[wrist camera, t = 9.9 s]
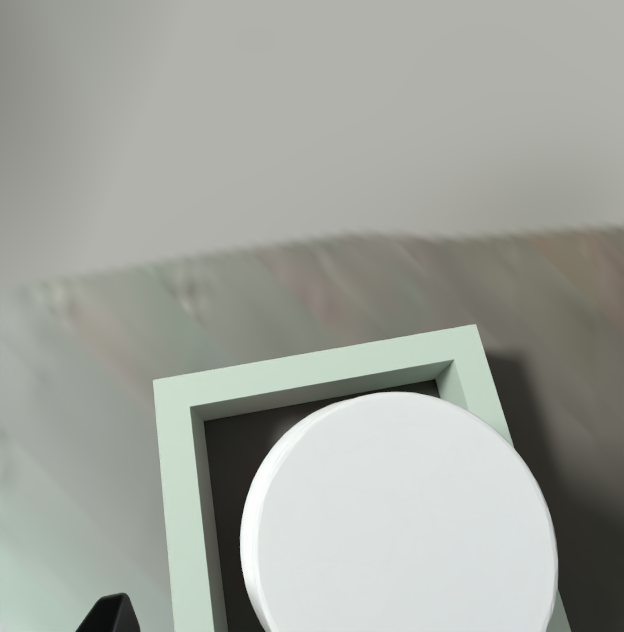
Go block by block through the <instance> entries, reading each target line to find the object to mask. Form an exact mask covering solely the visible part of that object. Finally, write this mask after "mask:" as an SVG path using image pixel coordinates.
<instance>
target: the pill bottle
mask: <svg viewBox="0 0 624 632" xmlns="http://www.w3.org/2000/svg"><path fill="white" fill-rule="evenodd" d="M240 554H241V564H242V571H243V576H244V580H245V585H246V589H247V592H248V595H249V598H250V601H251V603H252V606H253V608H254V610H255V613H256V615H257V617H258V619H259V621H260V623H261V625H262V627H263V628H264V630H265V631H266V632H546V631H547V628H548V625H549V623H550V619H551V616H552V613H553V609H554V604H555V599H556V591H557V587H558V552H557V543H556V537H555V531H554V526H553V523H552V520H551V516H550V513H549V509H548V506H547V503H546V501H545V499H544V496H543V494H542V492H541V489H540V487H539V485H538V483H537V481H536V479H535V478H534V476H533V475H532V473H531V471H530V469H529V467H528V466H527V465H526V463H525V462H524V460H523V459H522V458H521V456H520V455H519V454H518V453H517V451H516V450H515V449H514V448H513V447H512V445H511V444H510V443H509V442H508V441H507V440H506V439H505V438H504V437H503V436H502V435H501V434H500V433H499V432H498V431H496V430H495V429H494V428H492V427H491V426H490V425H489V424H487V423H486V422H485V421H484V420H482V419H481V418H479V417H478V416H476V415H475V414H473V413H471V412H470V411H468V410H466V409H464V408H462V407H460V406H458V405H455V404H453V403H451V402H448V401H446V400H443V399H439V398H436V397H432V396H429V395H423V394H418V393H412V392H381V393H374V394H369V395H364V396H360V397H357V398H354V399H349V400H344V401H340V402H337V403H334V404H331V405H329V406H326V407H324V408H322V409H320V410H318V411H316V412H314V413H312V414H310V415H309V416H307V417H306V418H304V419H302V420H301V421H300V422H298V423H297V424H296V425H294V426H293V427H292V428H291V429H290V430H289V431H287V432H286V433H285V434H284V435H283V436H282V437H281V439H280V440H279V441H278V442H277V443H276V444H275V445H274V447H273V448H272V449H271V450H270V452H269V453H268V455H267V456H266V458H265V459H264V461H263V462H262V464H261V466H260V467H259V469H258V471H257V473H256V474H255V476H254V479H253V481H252V483H251V486H250V489H249V492H248V496H247V499H246V502H245V506H244V511H243V516H242V523H241V533H240Z"/></svg>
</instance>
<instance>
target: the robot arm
mask: <svg viewBox="0 0 624 632" xmlns="http://www.w3.org/2000/svg"><path fill="white" fill-rule="evenodd" d="M75 632H140V626H139V623H138V620H137V617H136V615H135V612H134V609H133V607H132V604H131V601H130V598H129V596H128V595H127V594H126V593H118V594H113V595H108V596H104V597H101V598H100V599H99V600H98V601H97V602H96V603H95V605H94V606H93V608H92V609H91V610H90V612H89V613H88V615H87V616H86V617H85V619H84V620H83V622H82V623H81V624H80V626H79V627H78V629H77V630H76V631H75Z"/></svg>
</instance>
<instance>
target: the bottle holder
mask: <svg viewBox="0 0 624 632" xmlns="http://www.w3.org/2000/svg"><path fill="white" fill-rule="evenodd" d="M433 379H435V380H436V383H437V387H438V391H439V394H440V398H441V399H443V400H446V401H448V402H451V403H453V404H455V405H458V406H460V407H462V408H464V409H466V410H468V411H470V412H471V413H473V414H475V415H476V416H478V417H479V418H481V419H482V420H484V421H485V422H486V423H487V424H489V425H490V426H491V427H492V428H494V429H495V430H496V431H498V432H499V433H500V434H501V435H502V436H503V437H504V438H505V439H506V440H507V441H508V442H509V443H510V444H511V445H512V447H513V448H514V446H513V443H512V439H511V436H510V433H509V430H508V426H507V423H506V420H505V417H504V414H503V410H502V407H501V404H500V401H499V398H498V394H497V391H496V388H495V385H494V381H493V378H492V375H491V372H490V369H489V365H488V362H487V359H486V356H485V353H484V349H483V346H482V343H481V340H480V336H479V333H478V330H477V327H476V324H474V325H468V326H462V327H457V328H451V329H445V330H439V331H434V332H428V333H422V334H416V335H411V336H405V337H399V338H393V339H387V340H382V341H376V342H370V343H364V344H359V345H353V346H347V347H341V348H336V349H330V350H324V351H318V352H313V353H307V354H301V355H295V356H289V357H284V358H278V359H272V360H266V361H261V362H255V363H249V364H243V365H238V366H232V367H226V368H220V369H214V370H209V371H203V372H197V373H191V374H186V375H180V376H174V377H168V378H163V379H157V380H153V386H154V397H155V409H156V420H157V432H158V443H159V455H160V466H161V478H162V489H163V501H164V512H165V524H166V535H167V547H168V558H169V570H170V582H171V593H172V605H173V616H174V628H175V632H228V627H227V618H226V610H225V601H224V592H223V584H222V575H221V567H220V558H219V550H218V541H217V533H216V524H215V515H214V507H213V498H212V490H211V481H210V473H209V464H208V456H207V447H206V439H205V430H204V421H207V420H213V419H218V418H224V417H229V416H235V415H240V414H246V413H251V412H257V411H262V410H268V409H273V408H279V407H284V406H290V405H295V404H301V403H306V402H312V401H317V400H323V399H329V398H334V397H340V396H345V395H351V394H356V393H362V392H367V391H373V390H378V389H384V388H389V387H395V386H400V385H406V384H411V383H417V382H422V381H428V380H433ZM546 632H571V629H570V626H569V623H568V619H567V616H566V613H565V610H564V607H563V603H562V600H561V597H560V594H559V590H558V587H557V591H556V599H555V604H554V609H553V613H552V616H551V619H550V623H549V625H548V628H547V631H546Z"/></svg>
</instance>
